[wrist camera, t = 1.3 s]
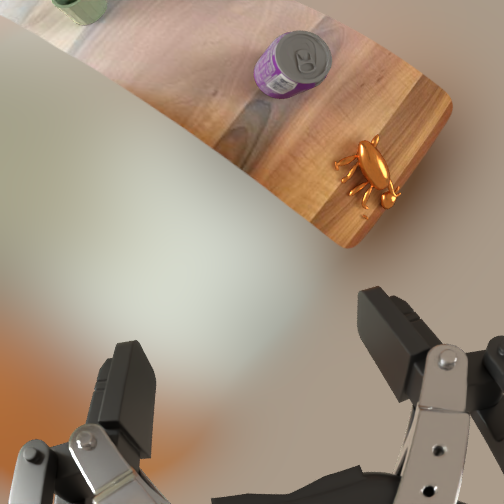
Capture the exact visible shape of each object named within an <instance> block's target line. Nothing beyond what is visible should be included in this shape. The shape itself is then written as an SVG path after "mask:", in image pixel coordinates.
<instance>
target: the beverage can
mask: <svg viewBox="0 0 504 504" xmlns="http://www.w3.org/2000/svg"><path fill="white" fill-rule="evenodd" d="M331 64H332V56H331V52H330V50H329V47H328V46H327V44H326V43H325V42H324V41H323V40H322V39H321V38H320V37H319V36H317V35H315V34H313V33H311V32H307V31H293V32H288V33H285V34H282V35H280V36H279V37H277V38H276V39H275V40H274V41H273V42H272V43H271V45H270V46H269V47H268V48H267V50H266V51H265V52H264V54H263V55H262V56H261V57H260V59H259V60H258V61H257V63H256V65H255V68H254V78H255V81H256V84H257V86H258V87H259V88H260V90H261V91H262V92H264V93H265V94H266V95H268V96H270V97H273V98H277V99H285V98H289V97H292V96H294V95H297V94H299V93H301V92H304V91H306V90H309V89H311V88H313V87H316V86H317V85H319V84H320V83H321V82H322V81H323V80H324V79H325V78H326V76H327V74H328V72H329V70H330V68H331Z"/></svg>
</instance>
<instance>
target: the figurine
mask: <svg viewBox="0 0 504 504" xmlns="http://www.w3.org/2000/svg"><path fill="white" fill-rule="evenodd" d="M378 142H379V135H378V134H377V135H376V136H375V137H374V138H373V139H372V141H371V143H370V142H369V141H366V140H363V141H361V142H359V144H358V150H357V154H356V155H352V156H348V157H345V158H343V159H341V160H340V161H339V162H338V163H337V162H336V161H335V168H336V170H337V171H338V170H339V166H344V165H347V164H349V163H351V162H352V161H353V160H355V159H356V158H357V160H358V162H357V163H356V164H355V165H354V166H353V167H352V169H351V170H350V172H349V174H348V176H347V177H344V178H342V181H341V182H342V183H345V182H346V181H347V180H349V179H350V178H351V177H352V175H353V174H354V172H355V171H356V169H357V167H358V166H359V168H360V170H361V172H362V174H363V176H364V177H365V179H366V180H367V182H364V183H361V184H359V185H357V186H356V187H354V188H353V189H352V190H351V192H350V194H349V196H352V195H354V194H356V193H357V192H358V191H360V190H361V189H362V188H363V187H364V186H365V185H367V184H368V182H369V184H370V185H371V186H370V187H369V189H368V190H367V191H366V192H365V194H364V196H363V199H362V207H363V208H365V209H368V207H367V206H366V205H365V204H366V202H367V201H368V198H369V196H370V194H371V190H372V187H373V188H375V189H377V190H382V189H385V188H386V187H388V190H389V191H387V192H385V193H383V194H382V195H381V205H382V207H383V208H384V209H390V208H391V207H393V205H394V204H395V202H396V199H397V197H398V196H399V195H400V194H401V193H398V194H396V193H397V192H398V190H399V188H400V186H398V187H397V188H396V190H395V192H394V187H393V184H392V181H391V179H390V172H389V169H388V166H387V164H386V161H385V159H384V158H383V156H382V155H381V153H380V152H379V151H378V149H377V148H376V147H377V145H378ZM363 216H364V218H365V219H367V220H368V217H367V216H365V215H363Z"/></svg>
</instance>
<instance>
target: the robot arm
mask: <svg viewBox="0 0 504 504" xmlns="http://www.w3.org/2000/svg"><path fill="white" fill-rule="evenodd" d="M357 314H358V315H357V327H358V332H359V335H360V338H361V340H362V342H363V343H364V345H365V347H366V348H367V349H368V351H369V353H370V355H371V356H372V358H373V360H374V361H375V363H376V365H377V366H378V368H379V369H380V371H381V373H382V375H383V376H384V378H385V380H386V381H387V383H388V385H389V386H390V388H391V390H392V391H393V393H394V395H395V396H396V398H397V400H398V402H399V403H400V402H402V401H405V400H407V399H410V400H411V402H412V404H413V405H412V408H411V412H410V417H409V421H408V425H407V429H406V433H405V437H404V440H403V444H402V448H401V451H400V454H399V457H398V460H397V462H396V465H395V468H394V471H393V474H390V473H383V472H364V473H363V472H362V470H361V467H360V465H358V466H355V467H352V468H349V469H346V470H343V471H340V472H337V473H334V474H330V475H327V476H324V477H322V478H320V479H318V480H316V481H314V482H313V483H311V484H309V485H307V486H305V487H303V488H301V489H299V490H297V491H294V492H292V493H290V494H283V495H282V494H280V495H279V494H276V495H275V494H242V495H235V496H228V497H221V498H212V499H211V501H212V504H466V503H463V502H460V501H458V500H457V499H458V494H459V489H460V485H461V480H462V475H463V469H464V464H465V457H466V451H467V443H468V435H469V426H470V415H471V417H472V418H473V420H474V422H475V423H476V425H477V427H478V429H479V430H480V432H481V434H482V435H483V437H484V439H485V440H486V442H487V444H488V446H489V448H490V450H491V451H492V453H493V455H494V457H495V459H496V461H497V462H498V464H499V466H500V468H501V470H502V472H503V474H504V336H497V337H494V338H493V339H491V340H490V341H489V343H488V346H487V348H486V350H482V351H476V352H470V353H464V351H463V350H462V349H460V348H459V347H457V346H454V345H451V344H442V342H441V341H440V340H439V339H438V338H437V337H436V335H435V334H434V333H433V332H432V331H431V330H430V328H429V327H428V326H427V325H426V324H425V323H424V322H423V320H422V319H420V317H419V316H418V315H417V314H416V312H414V311H413V309H412V308H411V307H410V306H409V305H408V303H407V302H406V301H404V300H402V299H400V298H398V297H396V296H390V297H389V296H388V295H387V294H386V293H385V292H384V291H383V290H382V288H381V287H379V286H376V287H372V288H369V289H365V290H362V291H359V293H358V313H357ZM94 389H95V391H94V392H93V396H92V400H91V404H90V408H89V412H88V416H87V420H86V424H84V425H82V426H80V427H78V428H77V429H76V430H75V431H74V432H73V433H72V435H71V436H70V439H69V442H67V443H64V444H60V445H57V446H53V447H49V446H48V445H47V444H46V443H45V442H43V441H42V440H38V439H35V440H31V441H29V442H27V443H26V444H25V445H24V446H23V447H22V448H21V450H20V452H19V455H18V458H17V463H16V467H15V471H14V476H13V481H12V486H11V491H10V497H9V502H8V504H52V503H53V494H55V501H54V504H171V503H170V502H169V501H168V500H167V499H166V498H165V497H164V496H163V495H162V493H161V492H160V491H159V490H158V489H157V488H156V486H154V484H153V483H152V482H151V481H150V479H149V478H148V477H147V476H146V475H145V473H144V472H143V471H142V470H141V469H140V468H139V463H140V459H145V458H151V445H152V430H153V416H154V404H155V392H156V378H155V374H154V371H153V369H152V367H151V365H150V363H149V361H148V359H147V357H146V355H145V353H144V351H143V349H142V347H141V345H140V343H139V342H138V341H137V340H134V341H129V342H122V343H118V344H117V345H116V347H115V351H114V355H113V358H110V359H107V360H106V361H105V363H104V364H103V365H102V367H101V368H100V370H99V374H98V377H97V382H96V385H95V388H94Z"/></svg>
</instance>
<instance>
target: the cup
mask: <svg viewBox="0 0 504 504" xmlns="http://www.w3.org/2000/svg"><path fill="white" fill-rule="evenodd" d="M52 3H53V4H54V6H55V7H57V8H58V9H59V10H60V11H61V12H63V13H64V14H65V15H66V16H68V17H69V18H70V19H71V20H72V21H74V22H75V23H77V24H79V25H88V24H92V23H94V22H95V21H97V20H98V19H100V18H101V17H102V15H103V14H104V13H105V11H106V9H107V4H108V3H107V0H52Z"/></svg>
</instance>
